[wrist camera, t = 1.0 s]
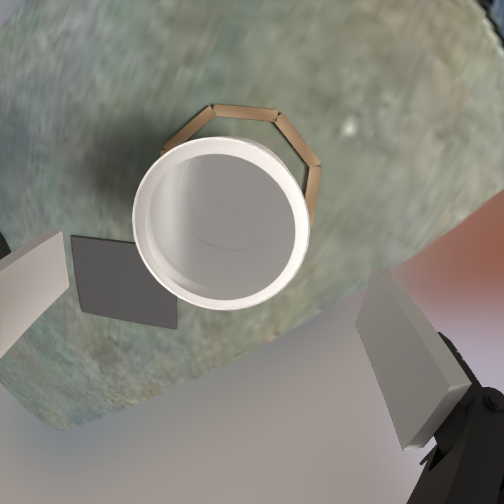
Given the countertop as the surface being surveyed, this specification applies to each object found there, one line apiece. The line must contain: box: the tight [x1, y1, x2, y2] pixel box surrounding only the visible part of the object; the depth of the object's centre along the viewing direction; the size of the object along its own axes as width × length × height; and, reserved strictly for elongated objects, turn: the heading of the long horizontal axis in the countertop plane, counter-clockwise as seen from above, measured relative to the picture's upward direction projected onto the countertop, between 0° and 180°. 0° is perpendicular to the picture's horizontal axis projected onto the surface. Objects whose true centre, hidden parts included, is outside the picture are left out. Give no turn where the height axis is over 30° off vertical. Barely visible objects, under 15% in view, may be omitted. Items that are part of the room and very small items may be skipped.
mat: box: [71, 235, 177, 329], centre depth 35 cm, size 14×11×1 cm
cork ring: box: [160, 104, 322, 226], centre depth 31 cm, size 16×16×1 cm
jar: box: [132, 136, 310, 310], centre depth 24 cm, size 11×10×15 cm
